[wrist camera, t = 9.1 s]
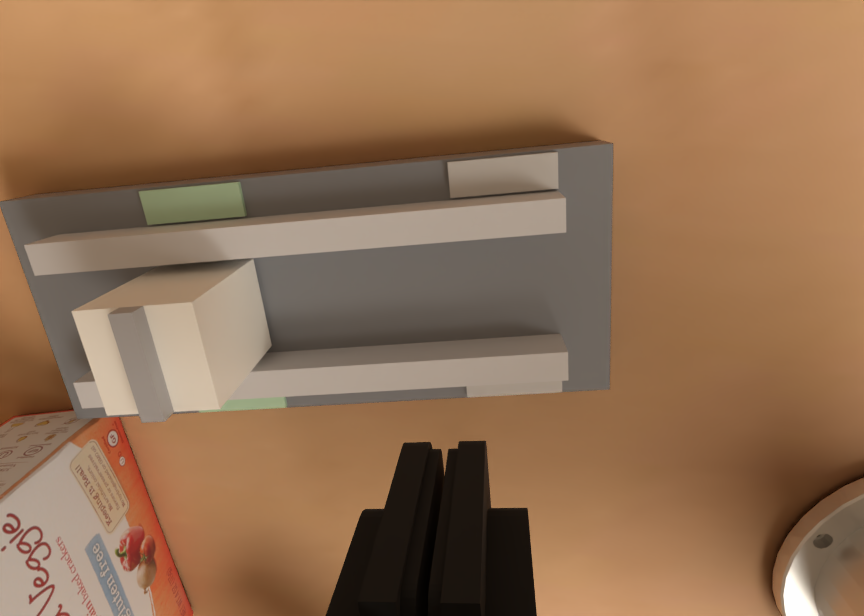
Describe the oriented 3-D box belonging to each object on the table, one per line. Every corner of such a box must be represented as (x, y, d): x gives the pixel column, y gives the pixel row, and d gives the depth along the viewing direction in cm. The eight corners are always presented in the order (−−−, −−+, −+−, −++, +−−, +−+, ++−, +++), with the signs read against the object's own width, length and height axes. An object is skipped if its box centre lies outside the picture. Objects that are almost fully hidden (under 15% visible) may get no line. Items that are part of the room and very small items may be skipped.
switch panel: (598, 368, 25) (620, 411, 21) (104, 397, 27) (49, 441, 24) (600, 140, 22) (626, 146, 18) (35, 194, 24) (-41, 210, 20)
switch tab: (271, 345, 23) (212, 418, 18) (181, 351, 24) (95, 425, 18) (253, 258, 22) (182, 309, 16) (158, 266, 22) (58, 317, 17)
